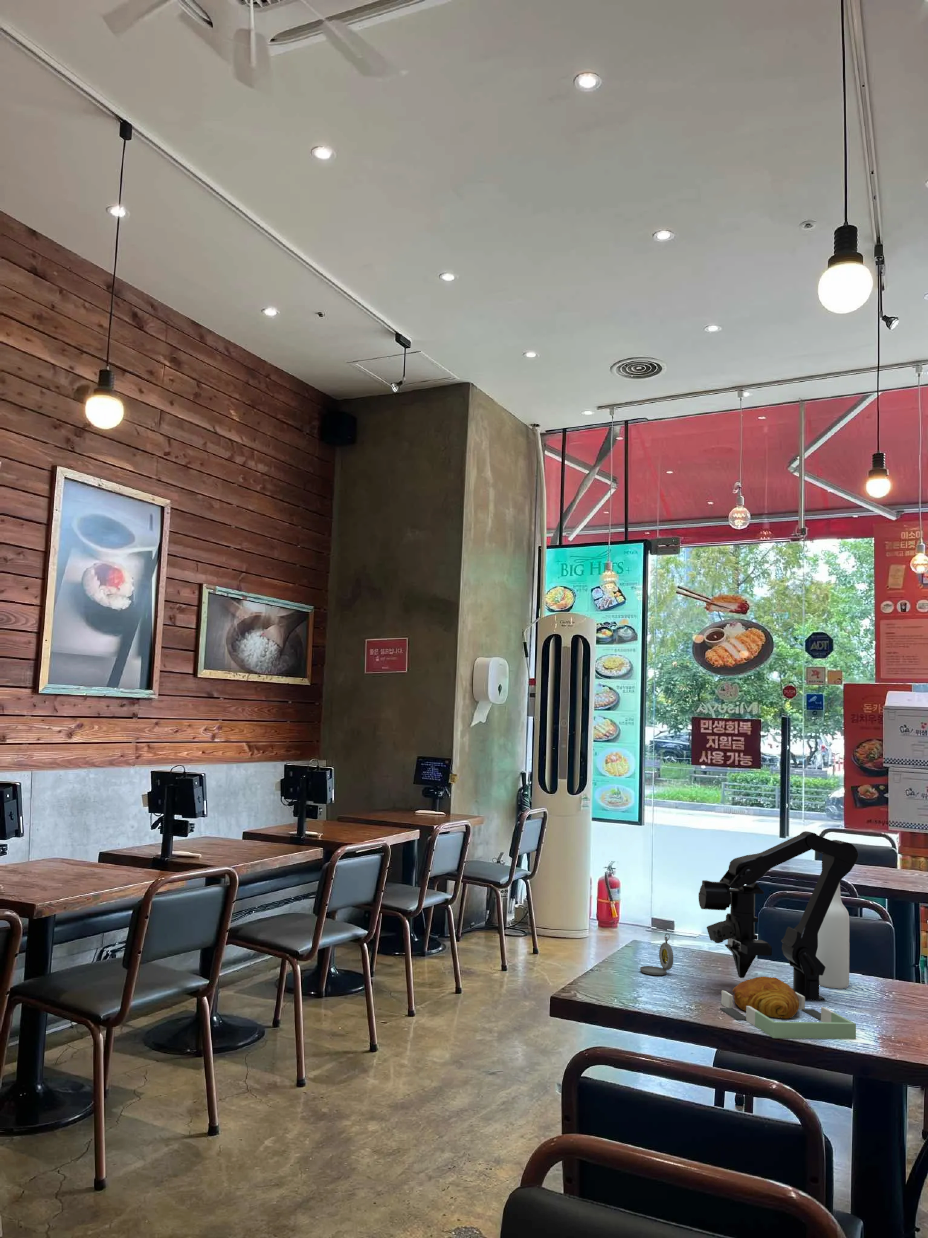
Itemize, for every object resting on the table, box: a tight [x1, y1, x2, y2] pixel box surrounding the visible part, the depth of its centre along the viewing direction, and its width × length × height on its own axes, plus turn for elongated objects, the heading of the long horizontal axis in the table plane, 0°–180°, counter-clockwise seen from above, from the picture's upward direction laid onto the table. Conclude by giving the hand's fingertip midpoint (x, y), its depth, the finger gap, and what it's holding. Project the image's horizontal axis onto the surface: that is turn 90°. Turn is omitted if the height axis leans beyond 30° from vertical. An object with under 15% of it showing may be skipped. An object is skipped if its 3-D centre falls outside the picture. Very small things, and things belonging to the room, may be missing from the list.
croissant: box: [732, 976, 800, 1020], centre depth 209 cm, size 14×16×8 cm
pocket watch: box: [639, 932, 674, 976], centre depth 236 cm, size 8×8×10 cm
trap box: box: [719, 990, 857, 1040], centre depth 200 cm, size 24×23×3 cm
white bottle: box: [816, 882, 850, 990], centre depth 237 cm, size 9×9×30 cm
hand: (741, 977), depth 221 cm, fingers closed
